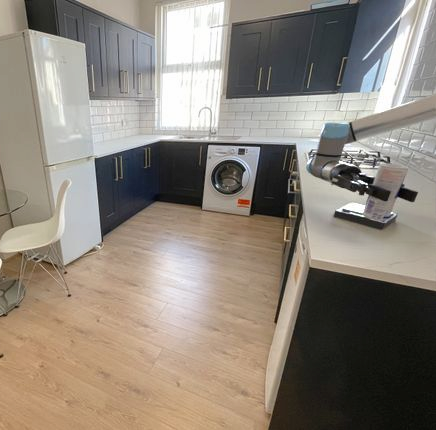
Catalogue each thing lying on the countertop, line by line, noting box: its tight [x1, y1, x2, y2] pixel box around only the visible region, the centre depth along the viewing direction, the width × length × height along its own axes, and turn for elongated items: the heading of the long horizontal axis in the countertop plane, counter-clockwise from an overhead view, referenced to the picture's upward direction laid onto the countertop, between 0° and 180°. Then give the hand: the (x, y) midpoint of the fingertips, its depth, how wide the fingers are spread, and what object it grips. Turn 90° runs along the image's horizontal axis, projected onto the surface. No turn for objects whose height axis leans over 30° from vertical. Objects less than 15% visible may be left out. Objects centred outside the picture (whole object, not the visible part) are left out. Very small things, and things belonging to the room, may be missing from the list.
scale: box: [333, 202, 399, 231], centre depth 101 cm, size 14×14×3 cm
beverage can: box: [362, 163, 410, 221], centre depth 76 cm, size 6×6×15 cm
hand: (400, 196), depth 71 cm, fingers closed on beverage can, 6 cm apart
